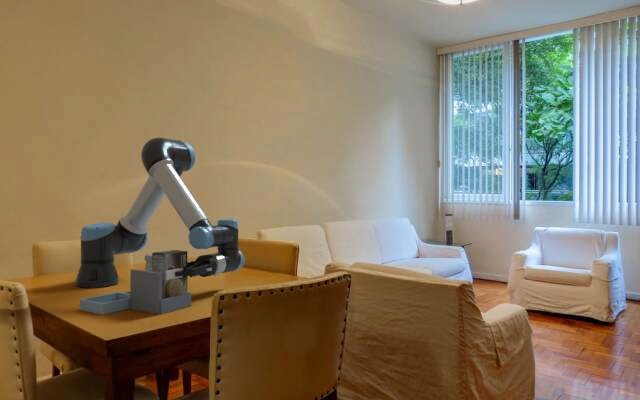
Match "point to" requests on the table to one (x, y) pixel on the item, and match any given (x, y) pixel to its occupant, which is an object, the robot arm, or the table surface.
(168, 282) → the coffee box
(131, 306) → the bracket
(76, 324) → the table surface
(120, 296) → the tray
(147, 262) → the salt shaker
